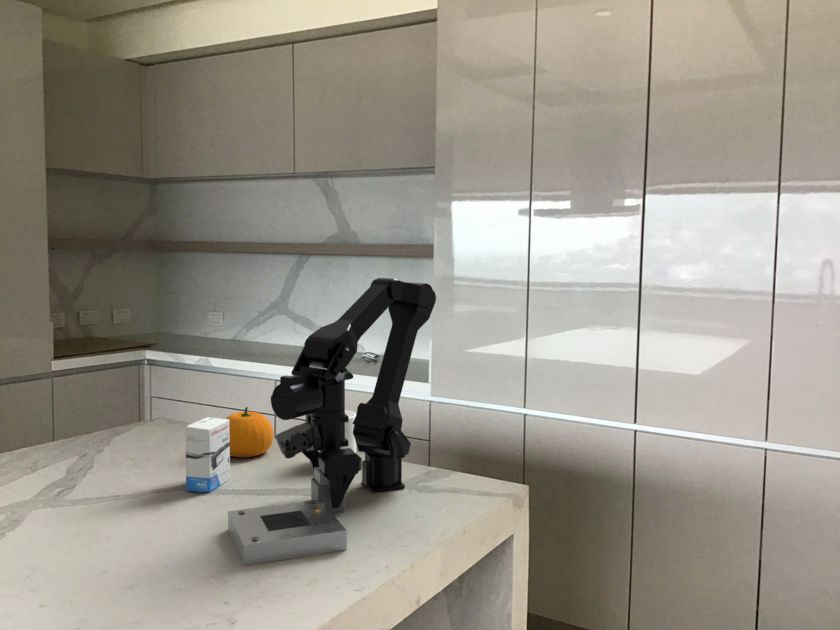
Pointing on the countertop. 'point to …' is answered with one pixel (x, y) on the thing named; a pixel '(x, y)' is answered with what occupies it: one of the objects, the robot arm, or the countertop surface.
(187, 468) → the ink box
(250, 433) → the fruit
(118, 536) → the countertop surface
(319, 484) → the plug
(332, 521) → the faceplate
